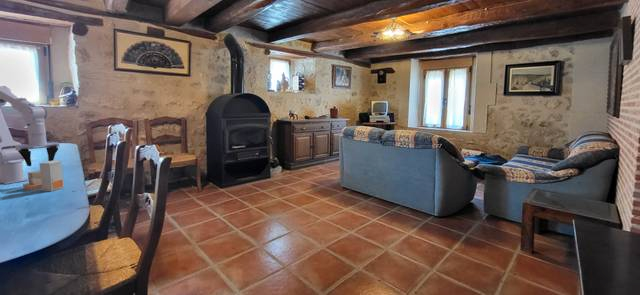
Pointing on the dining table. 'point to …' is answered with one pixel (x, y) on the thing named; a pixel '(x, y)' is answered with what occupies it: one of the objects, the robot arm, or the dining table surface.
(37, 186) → the terracotta base
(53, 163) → the skincare box
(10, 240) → the dining table surface
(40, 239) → the dining table surface
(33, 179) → the ash block
